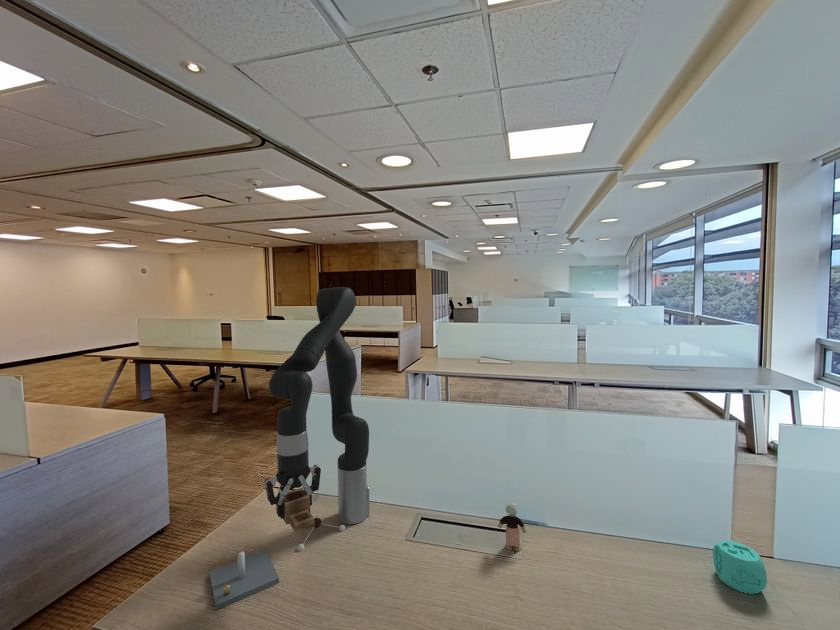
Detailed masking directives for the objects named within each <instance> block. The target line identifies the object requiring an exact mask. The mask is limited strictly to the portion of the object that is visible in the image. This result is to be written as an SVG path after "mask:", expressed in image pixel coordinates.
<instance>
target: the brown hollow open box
mask: <svg viewBox="0 0 840 630" xmlns="http://www.w3.org/2000/svg"><path fill="white" fill-rule="evenodd" d="M283 504H284V518H282V520H283V521H284V523H285V524H286V525H290V527H291V528H292V530H293V531H294V533H295V534H299V533H301V532H304V531H306V530H309V529H313V527H315V519H314V518H315V517H314V516H313V515H312V514H311V506H310V496H309V495H308V494H307V493H306V492H305V490H304V488H303V487H299V488H295V489H292V490H289V491H288V494H287V496H285V499H284V501H283Z"/></svg>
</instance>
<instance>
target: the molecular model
mask: <svg viewBox="0 0 840 630" xmlns="http://www.w3.org/2000/svg"><path fill="white" fill-rule="evenodd" d="M319 498H320V496H319V494H318V493H315V494H312V501H315V503H314V504H317V501H318V500H319ZM314 519H315V527H312V528H311V530H310V532H309V533H308V535H307V537H306V538H305V540H304V542H303V543H299V544H298V546H297V551H299V552H301V551H304V550H305V545H304V544H305V543H306V541H307V539H308V537H309V536H310V535H311V533H312V532H313V530H314V529H318V528H320V526H321V525H323V526H329V527H335V528H337V529H338V530H339V531H340V532H343V531H345V529H346V525H345V524H340V525H339V526H336V525H330V524H324V523H322V520H321V518H320V517H317V516H315V517H314Z"/></svg>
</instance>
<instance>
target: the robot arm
mask: <svg viewBox="0 0 840 630" xmlns="http://www.w3.org/2000/svg"><path fill="white" fill-rule="evenodd" d="M355 295H356V294H355V293H354V291H353V290H352V289H351V288H350V287H346V286H338V287H326V288H321V289H320V290H318V292H317V294H316V299H315V304H316V312H317V316H318V321H319V323H318V324H316V325H315V326H313V327H312V328H311V329H309V331H308V332H307V333H306V334H304V336H303V337H302V338H301V340H300V341H299V342H298V344H297V346H296V348H295V350H294V351H293V353H292V354H291V355H290V356H289V357H288V358H287V359H285V361H284V362H282V364H281V365H280V366H279V367H277V369H276V370H275V371H274V372H273V374H272V375H271V377H270V379H269V384H268V389H269V393H270V395H271V396H272V397H274V398H277V399H285V400H286V399H287V400H291V405H290V406H285V407H283V408H281V409H279V410H278V412H277V417H276V418H277V422H276V424H277V426H276V427H277V437H276V454H277V455H276V459H277V461H276V462H277V473H276V475H275V476H273V477H272V478H270V479H269V478H266V479H264V486H265V492H266V496H267V501H268V502H269V504H270V505H271V506H274V505H276V506H275V507H276V515H277V516H278V518H280V519H281V520H283V518H284V504H283V501H284V499H285V496H287V494H288V492H289V491H292V490H295V489H299V488H303V489H304V490H305V492H306V493H307V494H308V495H309V496H310V507H311V506H312V505H313V493H314V492H317V491H319V489H320V480H321V472H322V469H321V467H320V466H319V465H318V464H314V465H313V466H309V438H308V429H307V412H308V407H309V403H310V399H311V395H312V393H313V391H312V390H313V380H312V377H311V376H310V374H309V373H308V372H312V371H314V370H315V369H316V368H317V366H318V364H319V362H320V360H321V358H322V356H323V355H325V361H326V370H327V378H328V384H329V395H330V405H331V429H332V435H333V437H334V439H335V440H336V441H338V442H339V443H342V444H343V445H344V452H343V453H342V454H340V455H339V456H338V457H337V490H338V491H337V492H338V493H337V495H338V497H337V499H338V511H337V513H338V520H339V521H340V522H341V523H342V524H343V525H355V524H359V523H361V522H363V521H365V520H366V518H367V517H369V516H370V513H371V512H370V511H371V509H370V487H369V486H368V484H367V483H368V481H367V477H368V476H367V459H368V455H369V451H370V450H369V448H370V428H369V424H368V422H367V421H366V419H364V418H362V417H359V416H356V415H354V412H353V406H352V394H353V392H354V388H355V385H356V383H357V382H356V381H357V379H358V369H357V368H358V367H357V361H356V355H355V353H354V351H353V349H352V347H351V346H350V344H348V342H347V340H345V338H344V336H343V335H342V334H341V331H340V329H341V328H342V327H343V326H344V324H345V323H346V322H347V320H348V319H349V317H351V316H352V314H353V312H354V310H355V307H356V302H357V301H356V300H357V299H356V296H355ZM310 474H311V483H310V484H311V485H309V484H308V482H307V479H308V477H309V475H310ZM277 482H278V484H280V485H279V486H278V490H277V493H276V496H275V491H274V489H275V487H276V484H277Z"/></svg>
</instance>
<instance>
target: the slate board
mask: <svg viewBox="0 0 840 630" xmlns="http://www.w3.org/2000/svg"><path fill="white" fill-rule="evenodd" d="M208 573H209V574H208V575H209V577H208V578H209V581H210V586H211V591H212V596H213V601H214V605H215V606H214V607H215V610H216V611H218V610H219V609H223V608H225V607H226V606H228V605H229V606H230V605H231V604H234V603H235V602H238V601H241V600H242V599H246V598H247V597H250V596H252V595H254V594H256V593H258V592H261V591H263V590H265V589H267V588H270V587H272V586H274V585H277V584H279V583H280V578H279V575H278V572H277V571H276V568H275V566H274V563H273V562H272V559H271V557H270V555H269V553H268V551H267V549H266V550H262V551H260V552H258V553H254V554H251V555H250V556H247V557H246V554H245V551H240V552H238V553H237V560H236V561H234V562H231V563H228V564H225V565H224V566H221V567H218V568H216V569H213V570H211V571H209V572H208ZM226 584H230V594H229V595H228V596H224V586H225V585H226Z"/></svg>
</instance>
